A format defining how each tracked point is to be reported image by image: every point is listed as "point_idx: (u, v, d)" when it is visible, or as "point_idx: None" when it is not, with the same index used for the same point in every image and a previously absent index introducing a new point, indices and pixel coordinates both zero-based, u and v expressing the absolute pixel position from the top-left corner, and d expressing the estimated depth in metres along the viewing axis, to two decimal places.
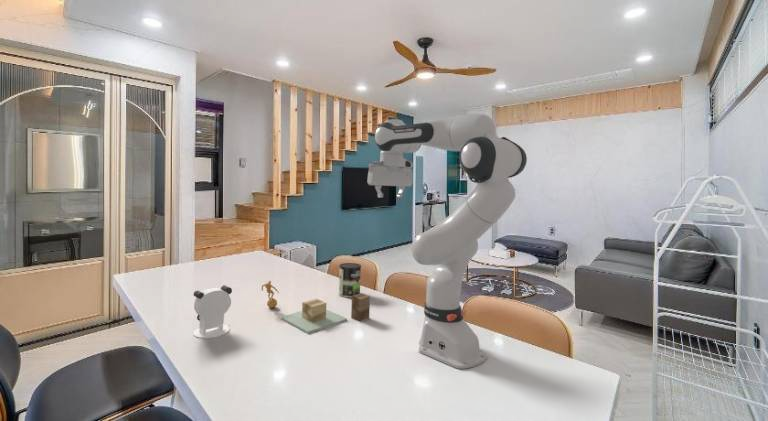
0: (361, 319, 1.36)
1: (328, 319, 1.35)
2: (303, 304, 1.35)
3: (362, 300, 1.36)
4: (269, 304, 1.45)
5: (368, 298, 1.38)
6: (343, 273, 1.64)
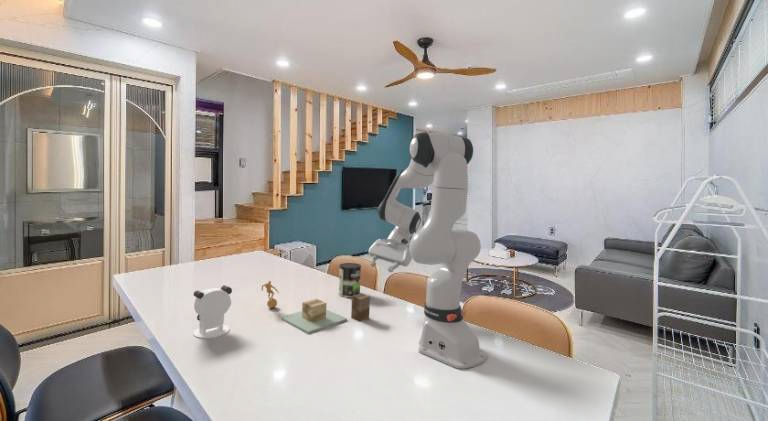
0: (361, 319, 1.36)
1: (328, 319, 1.35)
2: (303, 304, 1.35)
3: (362, 300, 1.36)
4: (269, 304, 1.45)
5: (368, 298, 1.38)
6: (343, 273, 1.64)
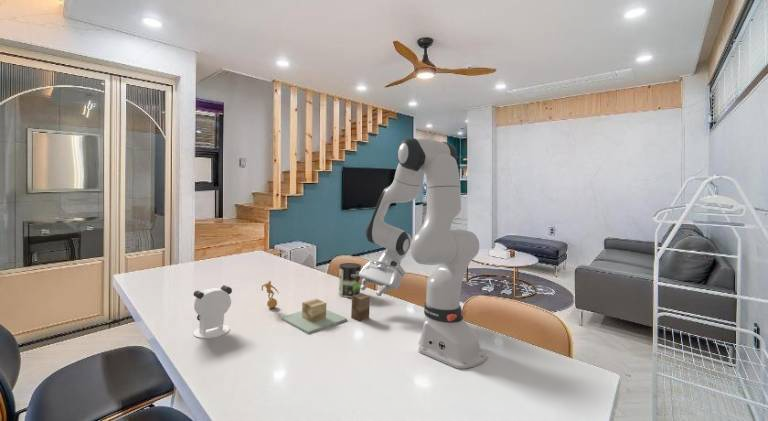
0: (361, 319, 1.36)
1: (328, 319, 1.35)
2: (303, 304, 1.35)
3: (362, 300, 1.36)
4: (269, 304, 1.45)
5: (368, 298, 1.38)
6: (343, 273, 1.64)
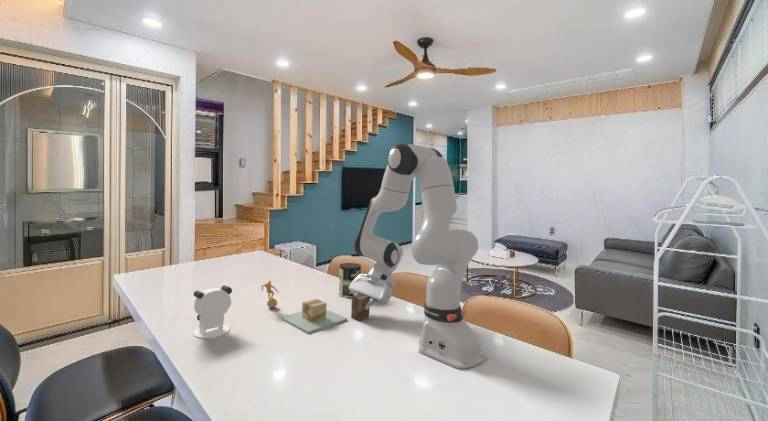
0: (361, 319, 1.36)
1: (328, 319, 1.35)
2: (303, 304, 1.35)
3: (362, 300, 1.36)
4: (269, 304, 1.45)
5: (368, 298, 1.38)
6: (343, 273, 1.64)
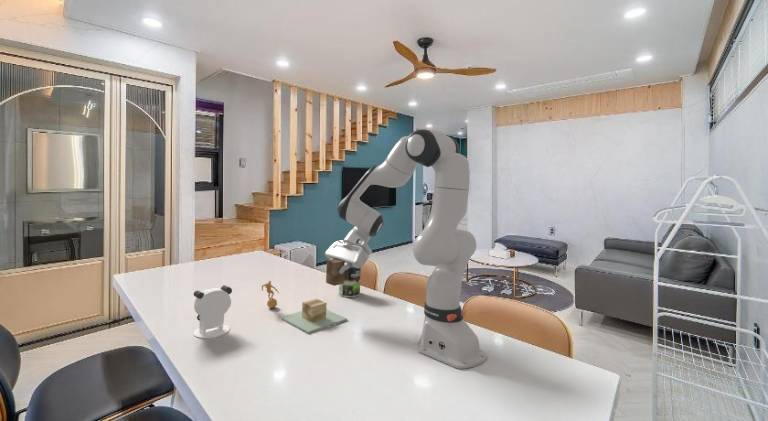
0: (335, 283, 1.34)
1: (328, 319, 1.35)
2: (303, 304, 1.35)
3: (336, 264, 1.33)
4: (269, 304, 1.45)
5: (343, 262, 1.36)
6: None
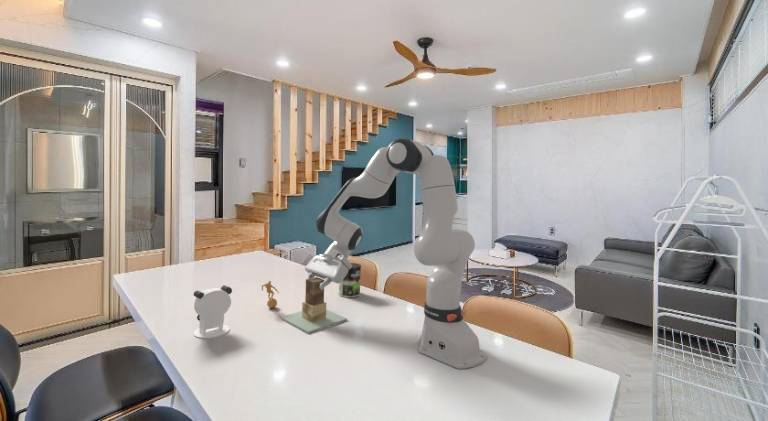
0: (314, 303, 1.32)
1: (328, 319, 1.35)
2: (303, 304, 1.35)
3: (315, 283, 1.32)
4: (269, 304, 1.45)
5: (322, 281, 1.34)
6: None
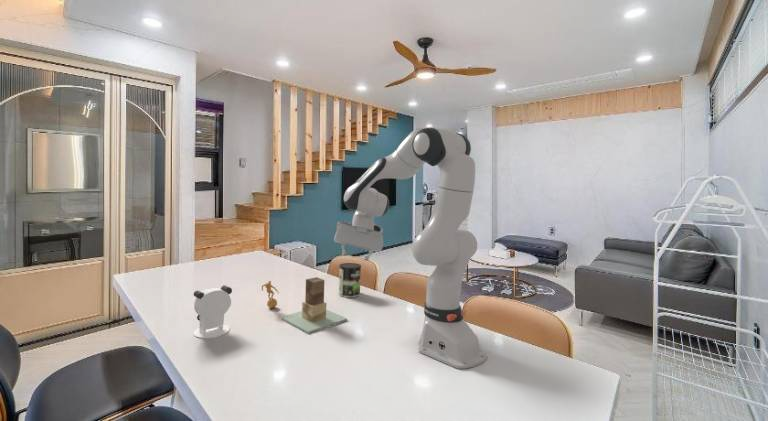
0: (314, 303, 1.32)
1: (328, 319, 1.35)
2: (303, 304, 1.35)
3: (315, 283, 1.32)
4: (269, 304, 1.45)
5: (322, 281, 1.34)
6: (343, 273, 1.64)
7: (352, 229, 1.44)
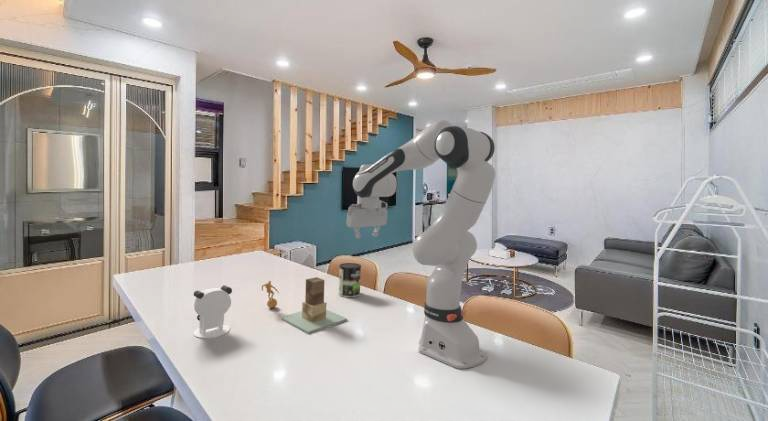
0: (314, 303, 1.32)
1: (328, 319, 1.35)
2: (303, 304, 1.35)
3: (315, 283, 1.32)
4: (269, 304, 1.45)
5: (322, 281, 1.34)
6: (343, 273, 1.64)
7: (363, 211, 1.40)
